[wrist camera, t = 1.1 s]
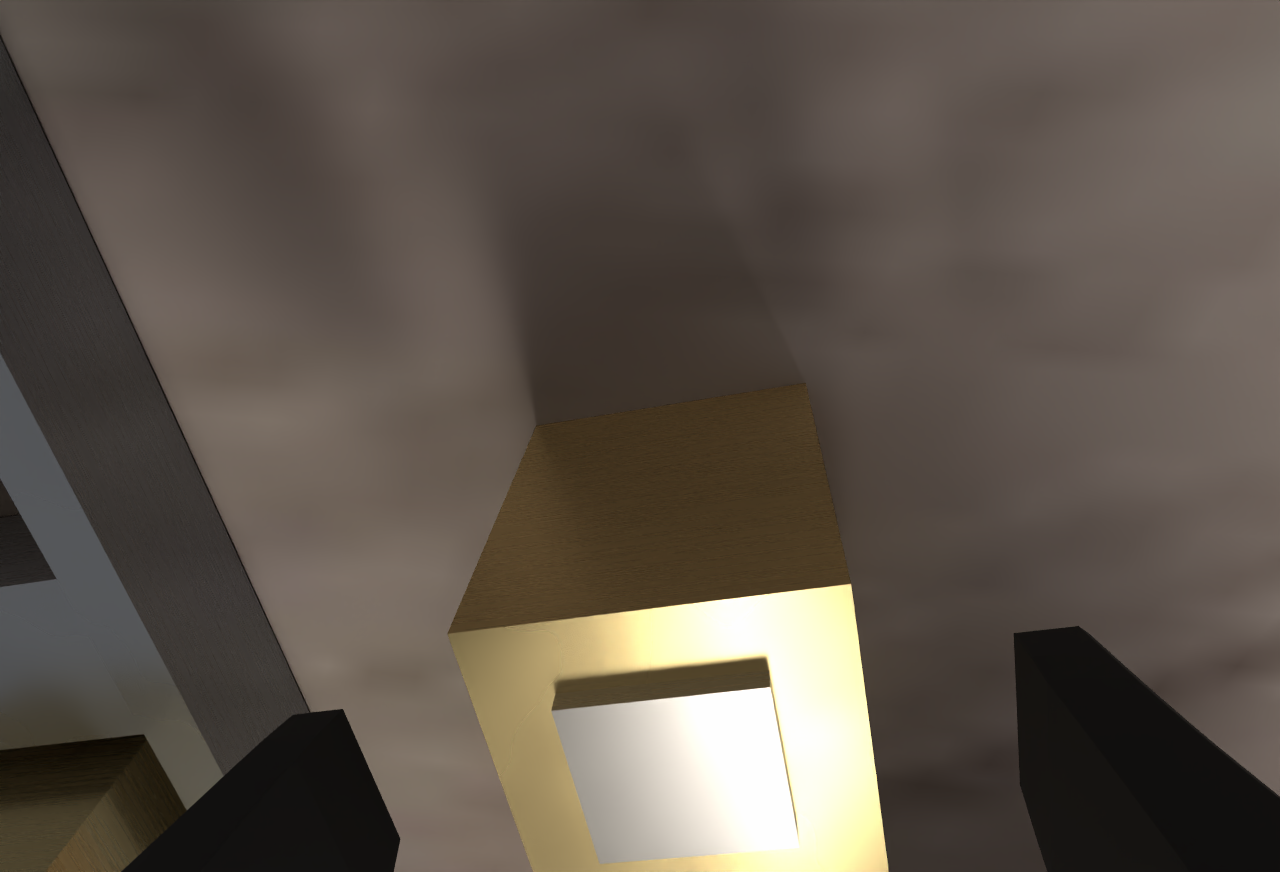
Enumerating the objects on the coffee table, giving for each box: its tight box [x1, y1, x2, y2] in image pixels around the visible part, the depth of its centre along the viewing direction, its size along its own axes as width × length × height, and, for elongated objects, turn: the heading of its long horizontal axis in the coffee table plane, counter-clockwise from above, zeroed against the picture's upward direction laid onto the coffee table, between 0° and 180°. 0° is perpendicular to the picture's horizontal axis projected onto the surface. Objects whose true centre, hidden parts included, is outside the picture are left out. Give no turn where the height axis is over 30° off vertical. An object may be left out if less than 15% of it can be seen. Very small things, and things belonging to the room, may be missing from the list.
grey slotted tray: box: [0, 39, 309, 810], centre depth 15 cm, size 17×7×2 cm, turn 12°
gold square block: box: [448, 383, 889, 872], centre depth 12 cm, size 4×4×5 cm
